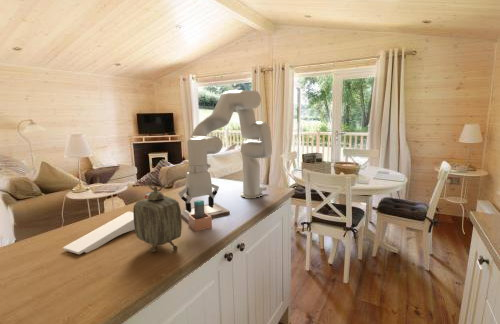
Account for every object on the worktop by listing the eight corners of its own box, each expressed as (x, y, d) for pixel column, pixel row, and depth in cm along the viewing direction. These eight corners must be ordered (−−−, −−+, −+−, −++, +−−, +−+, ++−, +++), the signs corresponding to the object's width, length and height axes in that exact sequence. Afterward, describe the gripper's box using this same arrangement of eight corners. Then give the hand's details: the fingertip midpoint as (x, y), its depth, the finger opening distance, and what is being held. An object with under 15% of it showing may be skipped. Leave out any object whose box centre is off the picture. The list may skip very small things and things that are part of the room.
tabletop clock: (183, 249, 94) (179, 178, 90) (161, 261, 87) (156, 184, 83) (156, 239, 102) (151, 173, 98) (134, 249, 95) (128, 178, 91)
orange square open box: (204, 221, 119) (204, 211, 119) (211, 227, 113) (211, 216, 113) (188, 225, 116) (188, 215, 115) (195, 231, 110) (194, 220, 109)
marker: (202, 222, 117) (201, 199, 115) (206, 225, 114) (205, 202, 112) (193, 224, 115) (192, 201, 113) (197, 227, 112) (196, 203, 110)
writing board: (215, 205, 141) (215, 202, 140) (229, 214, 128) (229, 210, 128) (177, 213, 130) (177, 209, 130) (188, 223, 117) (188, 219, 117)
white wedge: (83, 271, 92) (145, 229, 117) (82, 254, 89) (145, 215, 114) (63, 259, 96) (127, 221, 120) (61, 242, 93) (127, 207, 117)
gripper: (213, 164, 118) (215, 202, 121) (174, 169, 109) (176, 210, 112) (221, 167, 112) (223, 207, 115) (180, 173, 103) (183, 216, 106)
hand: (200, 209), depth 114 cm, fingers open, 9 cm apart
